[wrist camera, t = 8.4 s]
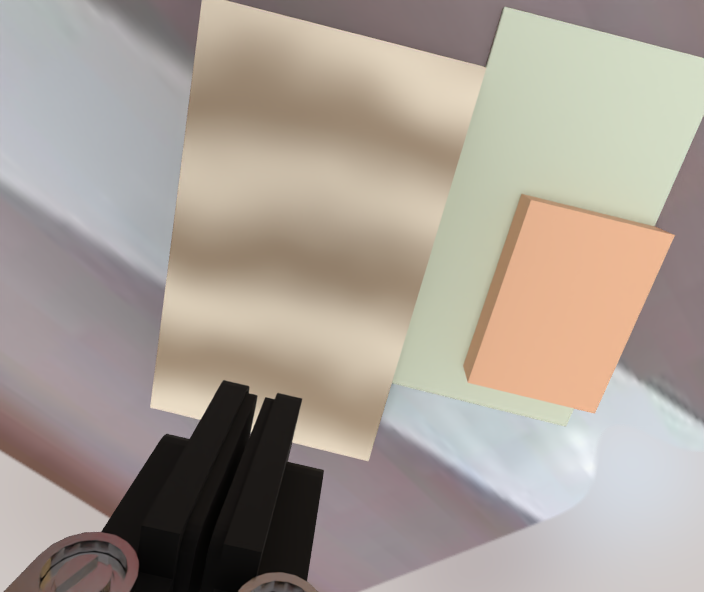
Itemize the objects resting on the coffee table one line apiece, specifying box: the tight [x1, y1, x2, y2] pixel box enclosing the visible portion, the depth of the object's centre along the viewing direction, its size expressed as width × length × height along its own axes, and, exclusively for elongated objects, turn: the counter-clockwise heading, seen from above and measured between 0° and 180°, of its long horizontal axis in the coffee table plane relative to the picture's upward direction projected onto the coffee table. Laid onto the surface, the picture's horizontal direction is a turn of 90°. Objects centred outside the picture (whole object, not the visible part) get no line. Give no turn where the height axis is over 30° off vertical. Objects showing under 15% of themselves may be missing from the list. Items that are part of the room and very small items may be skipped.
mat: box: [392, 7, 704, 426], centre depth 28 cm, size 20×10×1 cm, turn 167°
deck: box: [150, 0, 487, 461], centre depth 27 cm, size 20×12×4 cm, turn 167°
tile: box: [463, 194, 675, 413], centre depth 28 cm, size 10×7×2 cm
